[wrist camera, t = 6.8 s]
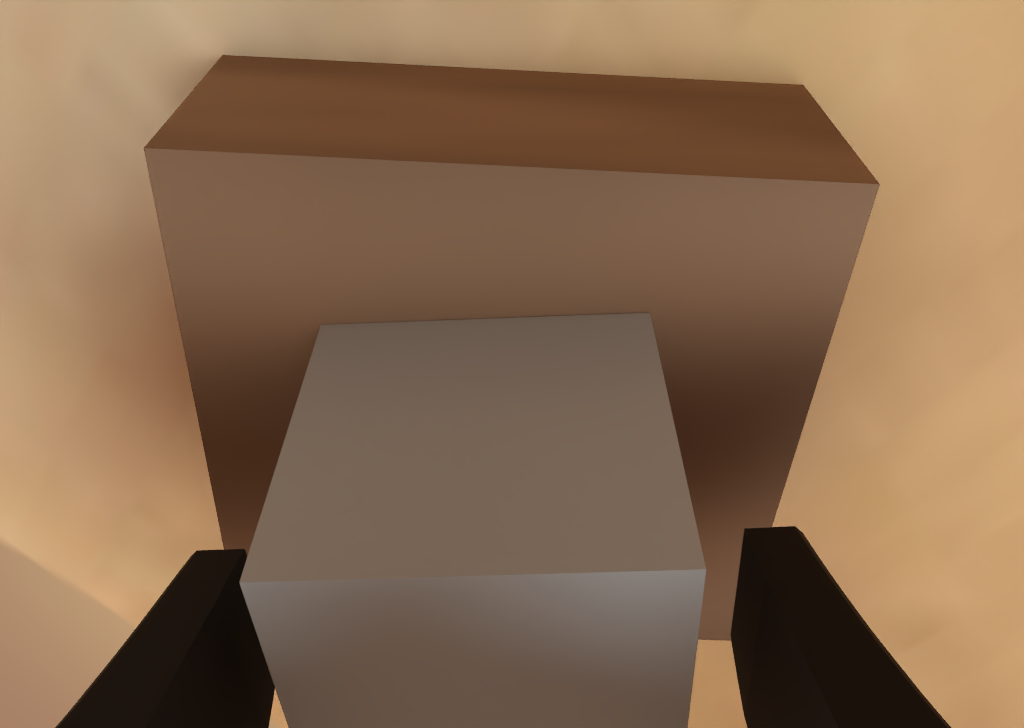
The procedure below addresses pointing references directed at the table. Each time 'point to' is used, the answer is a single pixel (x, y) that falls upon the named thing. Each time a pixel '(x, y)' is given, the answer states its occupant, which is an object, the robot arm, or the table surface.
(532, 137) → the walnut block
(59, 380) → the table surface
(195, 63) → the table surface
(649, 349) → the grey cube
